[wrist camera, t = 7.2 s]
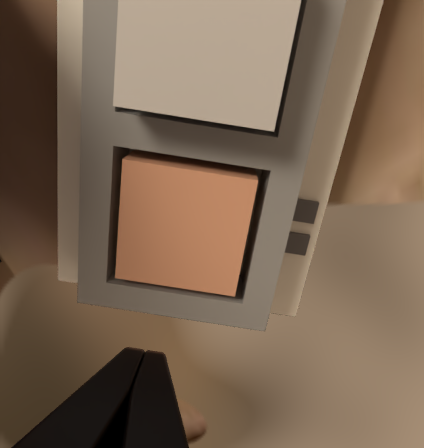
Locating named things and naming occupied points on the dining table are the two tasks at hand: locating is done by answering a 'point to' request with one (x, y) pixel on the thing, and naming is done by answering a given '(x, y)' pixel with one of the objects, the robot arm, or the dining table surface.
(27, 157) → the dining table surface
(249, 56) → the grey key
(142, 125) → the grey piece
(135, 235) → the clay key
